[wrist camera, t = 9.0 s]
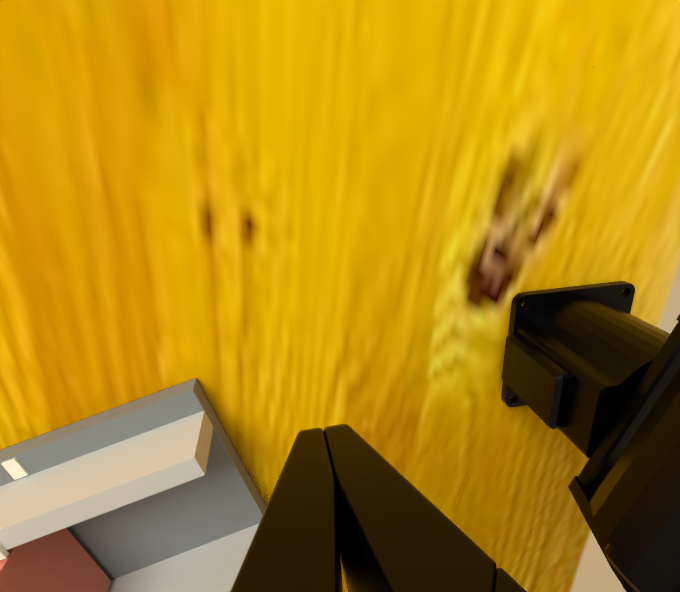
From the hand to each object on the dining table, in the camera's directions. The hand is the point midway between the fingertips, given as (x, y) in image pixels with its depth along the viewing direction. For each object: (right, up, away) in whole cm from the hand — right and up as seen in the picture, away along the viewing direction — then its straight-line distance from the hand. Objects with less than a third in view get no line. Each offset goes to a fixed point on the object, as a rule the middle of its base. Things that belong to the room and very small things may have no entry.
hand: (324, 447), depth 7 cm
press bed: (-12, -9, +14) cm, 21 cm away
